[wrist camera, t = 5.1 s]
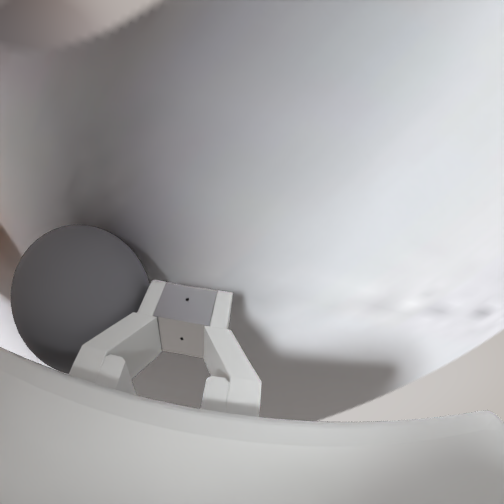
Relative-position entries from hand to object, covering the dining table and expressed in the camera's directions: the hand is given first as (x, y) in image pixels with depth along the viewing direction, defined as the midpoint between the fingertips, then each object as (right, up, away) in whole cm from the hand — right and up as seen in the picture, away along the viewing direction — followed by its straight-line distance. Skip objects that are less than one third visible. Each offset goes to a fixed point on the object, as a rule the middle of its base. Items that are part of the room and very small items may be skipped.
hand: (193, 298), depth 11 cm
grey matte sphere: (-4, 0, -1) cm, 4 cm away
